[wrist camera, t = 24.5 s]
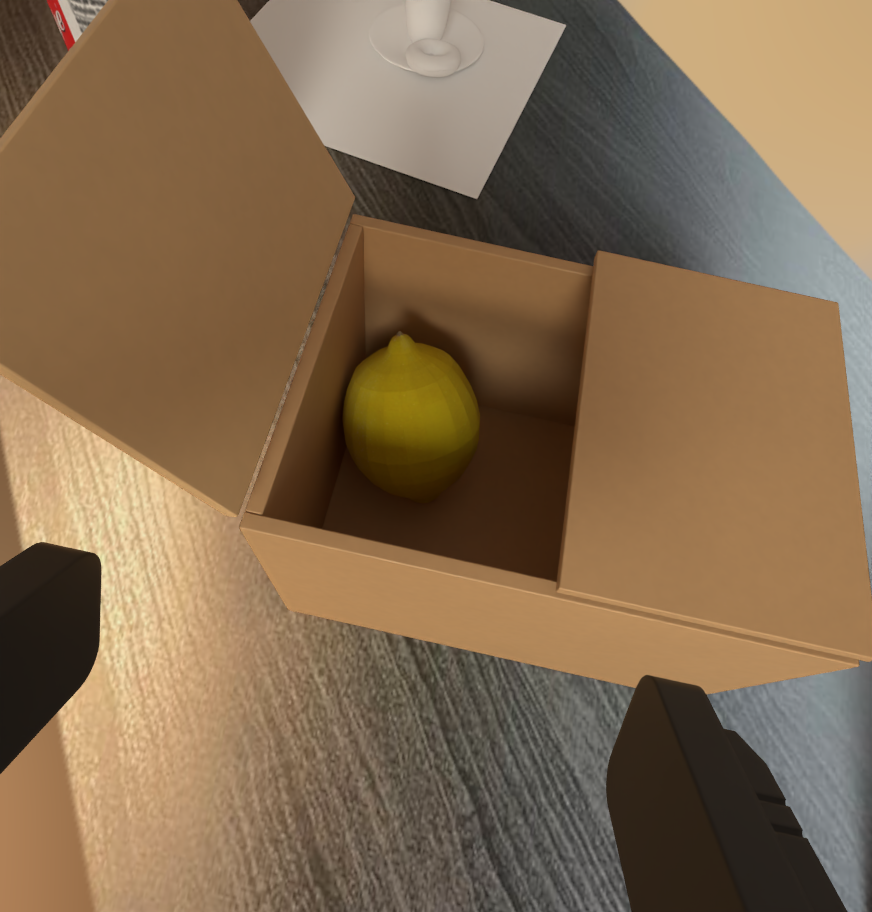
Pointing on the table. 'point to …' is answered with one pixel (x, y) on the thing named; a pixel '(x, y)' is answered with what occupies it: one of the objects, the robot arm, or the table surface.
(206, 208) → the flap
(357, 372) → the fruit
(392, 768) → the table surface
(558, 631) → the carton
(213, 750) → the table surface
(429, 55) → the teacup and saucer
